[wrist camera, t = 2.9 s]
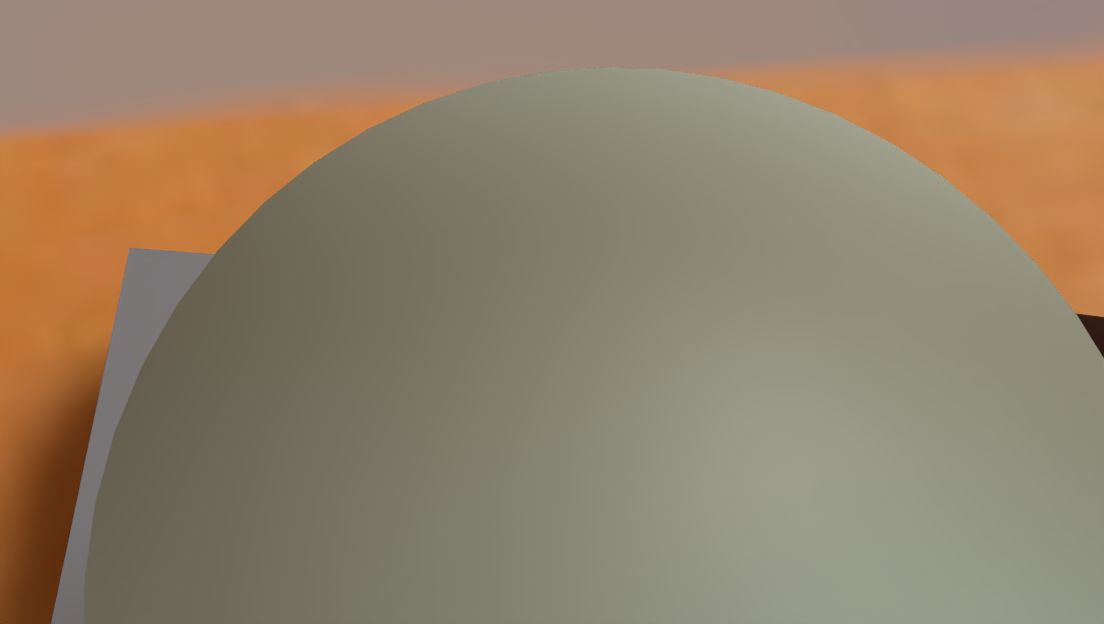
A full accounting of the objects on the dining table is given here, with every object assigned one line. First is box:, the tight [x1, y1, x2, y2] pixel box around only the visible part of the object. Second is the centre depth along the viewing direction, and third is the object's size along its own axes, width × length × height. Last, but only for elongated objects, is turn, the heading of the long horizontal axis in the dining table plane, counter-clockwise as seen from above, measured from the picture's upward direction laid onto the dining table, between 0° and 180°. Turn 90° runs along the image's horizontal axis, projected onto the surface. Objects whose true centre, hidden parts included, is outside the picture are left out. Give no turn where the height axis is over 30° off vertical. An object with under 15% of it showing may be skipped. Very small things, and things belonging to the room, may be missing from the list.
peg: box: [84, 67, 1104, 624], centre depth 10 cm, size 5×5×12 cm
